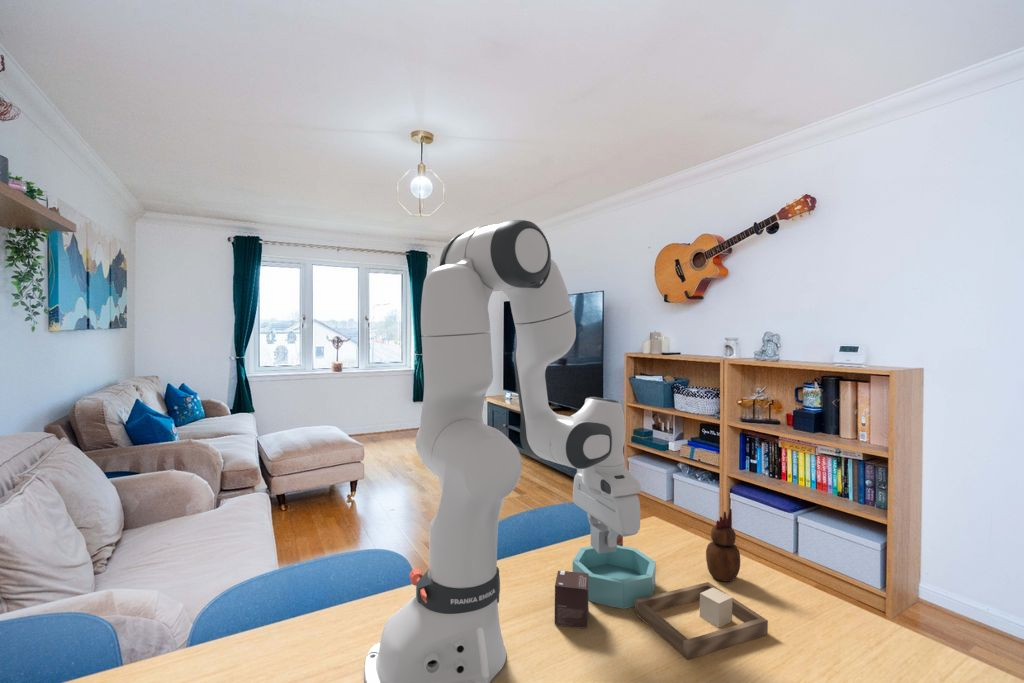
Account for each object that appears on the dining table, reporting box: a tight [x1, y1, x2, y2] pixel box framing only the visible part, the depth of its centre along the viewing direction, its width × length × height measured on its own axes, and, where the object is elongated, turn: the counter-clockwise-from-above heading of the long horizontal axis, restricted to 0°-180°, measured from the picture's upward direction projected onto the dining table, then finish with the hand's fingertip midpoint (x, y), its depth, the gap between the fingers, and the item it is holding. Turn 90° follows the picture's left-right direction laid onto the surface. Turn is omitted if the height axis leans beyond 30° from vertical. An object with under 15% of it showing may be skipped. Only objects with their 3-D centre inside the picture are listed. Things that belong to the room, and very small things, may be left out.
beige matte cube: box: [699, 588, 733, 628], centre depth 89 cm, size 4×4×4 cm
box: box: [554, 570, 589, 629], centre depth 89 cm, size 6×6×7 cm
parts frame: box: [634, 581, 769, 661], centre depth 88 cm, size 18×14×2 cm
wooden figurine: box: [705, 508, 741, 582], centre depth 104 cm, size 7×6×15 cm
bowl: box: [572, 545, 657, 610], centre depth 101 cm, size 16×16×5 cm
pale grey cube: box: [590, 523, 617, 554], centre depth 100 cm, size 4×4×4 cm
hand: (603, 540), depth 100 cm, fingers closed on pale grey cube, 4 cm apart
